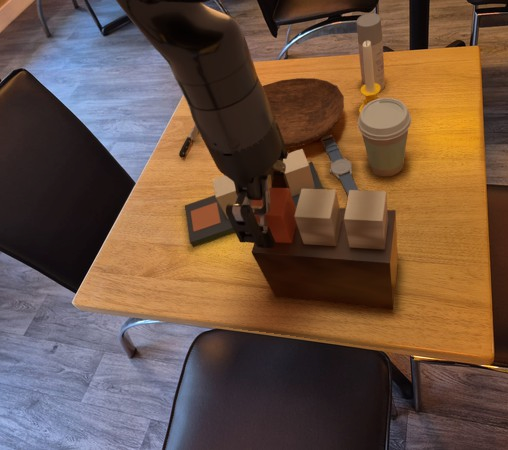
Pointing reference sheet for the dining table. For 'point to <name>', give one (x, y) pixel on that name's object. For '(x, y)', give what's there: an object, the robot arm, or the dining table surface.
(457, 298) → the dining table surface
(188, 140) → the knife
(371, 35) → the container
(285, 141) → the bowl
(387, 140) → the coffee cup
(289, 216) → the red-brown rectangular block
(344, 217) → the stand
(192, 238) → the far board
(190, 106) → the robot arm
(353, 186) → the wristwatch
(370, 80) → the candle
